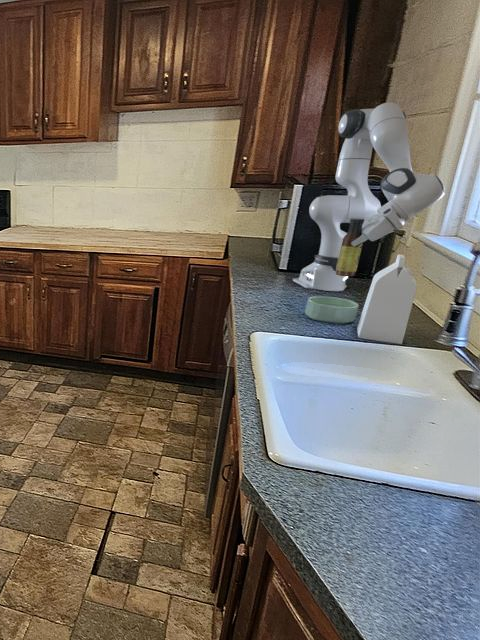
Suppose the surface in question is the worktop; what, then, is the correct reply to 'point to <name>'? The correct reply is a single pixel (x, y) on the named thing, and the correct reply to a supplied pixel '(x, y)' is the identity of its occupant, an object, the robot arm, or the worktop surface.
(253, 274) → the worktop surface
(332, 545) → the worktop surface
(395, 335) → the milk
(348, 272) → the sauce bottle
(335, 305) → the bowl
